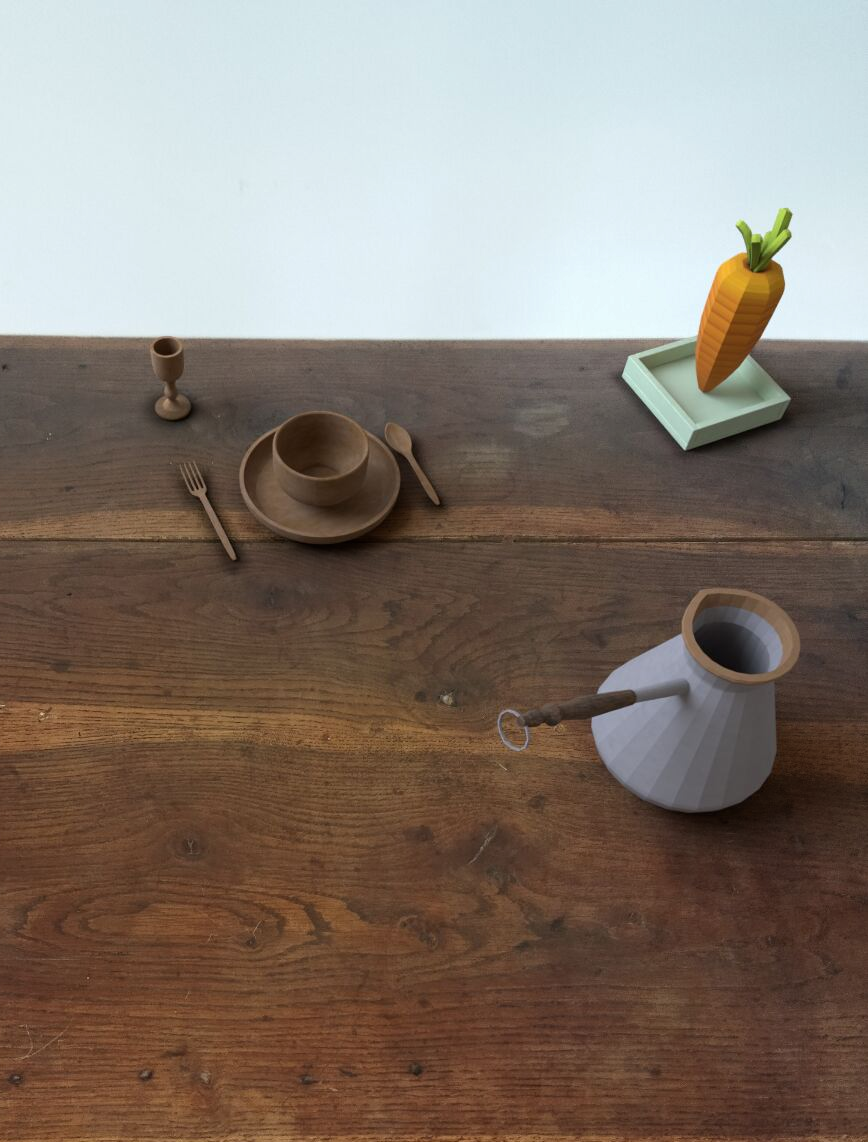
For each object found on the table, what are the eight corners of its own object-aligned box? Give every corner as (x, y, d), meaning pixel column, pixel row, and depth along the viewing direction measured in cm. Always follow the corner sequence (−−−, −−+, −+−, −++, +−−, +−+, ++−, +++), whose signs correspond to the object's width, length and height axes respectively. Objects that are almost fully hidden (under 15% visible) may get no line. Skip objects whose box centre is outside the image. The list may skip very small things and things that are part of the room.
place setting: (237, 585, 76) (234, 529, 71) (143, 403, 85) (135, 341, 80) (456, 514, 80) (468, 455, 75) (343, 347, 89) (347, 284, 84)
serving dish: (714, 347, 90) (723, 326, 88) (780, 419, 86) (791, 398, 84) (621, 376, 88) (628, 355, 86) (684, 451, 84) (693, 430, 82)
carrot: (689, 418, 85) (762, 244, 72) (661, 376, 87) (727, 201, 74) (745, 406, 85) (828, 233, 73) (716, 365, 88) (791, 190, 75)
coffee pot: (684, 655, 74) (770, 501, 61) (795, 785, 69) (914, 648, 56) (418, 778, 68) (449, 638, 55) (517, 929, 63) (577, 814, 50)
